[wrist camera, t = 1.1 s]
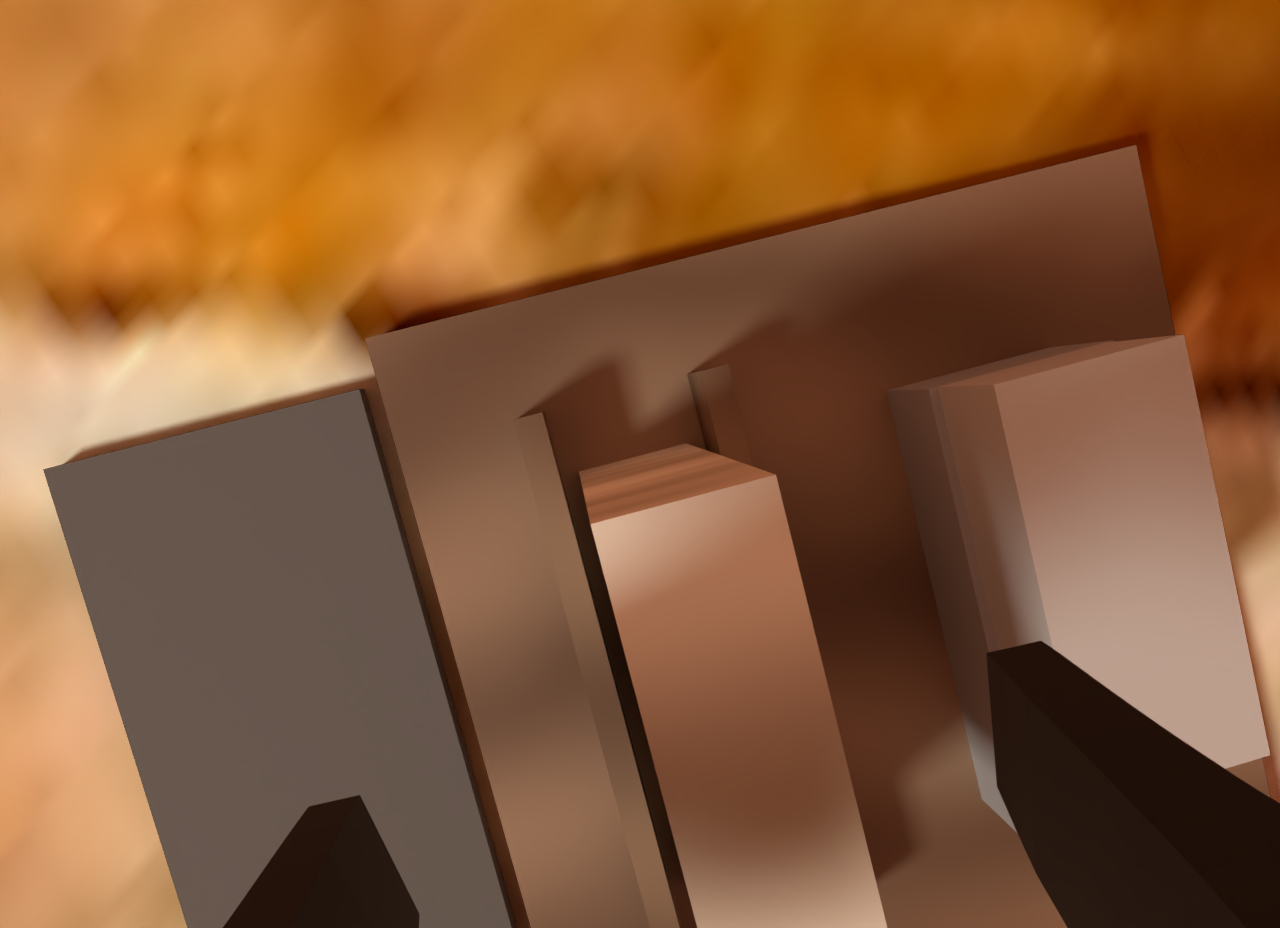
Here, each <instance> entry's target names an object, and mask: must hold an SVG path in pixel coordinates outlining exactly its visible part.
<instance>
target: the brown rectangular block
mask: <svg viewBox="0 0 1280 928" xmlns="http://www.w3.org/2000/svg"><path fill="white" fill-rule="evenodd" d="M579 475H580V479H581V484H582V488H583V493H584V497H585V502H586V506H587V511H588V515H589V520H590V524H591V528H592V532H593V536H594V540H595V543H596V547H597V551H598V555H599V558H600V562H601V566H602V570H603V573H604V577H605V581H606V585H607V589H608V592H609V596H610V600H611V604H612V607H613V611H614V615H615V619H616V623H617V626H618V630H619V634H620V638H621V641H622V645H623V649H624V653H625V657H626V660H627V664H628V668H629V672H630V675H631V679H632V683H633V687H634V691H635V694H636V698H637V702H638V706H639V709H640V713H641V717H642V721H643V725H644V728H645V732H646V736H647V740H648V743H649V747H650V751H651V755H652V758H653V762H654V766H655V770H656V774H657V777H658V781H659V785H660V789H661V792H662V796H663V800H664V804H665V808H666V811H667V815H668V819H669V823H670V826H671V830H672V834H673V838H674V842H675V845H676V849H677V853H678V857H679V860H680V864H681V868H682V872H683V876H684V879H685V883H686V887H687V891H688V894H689V898H690V902H691V906H692V910H693V913H694V917H695V921H696V925H697V928H887V924H886V920H885V916H884V912H883V908H882V904H881V900H880V896H879V892H878V888H877V883H876V879H875V875H874V871H873V867H872V863H871V859H870V855H869V851H868V847H867V843H866V839H865V835H864V831H863V827H862V823H861V818H860V814H859V810H858V806H857V802H856V798H855V794H854V790H853V786H852V782H851V778H850V774H849V770H848V766H847V762H846V758H845V753H844V749H843V745H842V741H841V737H840V733H839V729H838V725H837V721H836V717H835V713H834V709H833V705H832V701H831V697H830V693H829V688H828V684H827V680H826V676H825V672H824V668H823V664H822V660H821V656H820V652H819V648H818V644H817V640H816V636H815V632H814V628H813V623H812V619H811V615H810V611H809V607H808V603H807V599H806V595H805V591H804V587H803V583H802V579H801V575H800V571H799V567H798V563H797V558H796V554H795V550H794V546H793V542H792V538H791V534H790V530H789V526H788V522H787V518H786V514H785V510H784V506H783V502H782V498H781V493H780V489H779V485H778V481H777V477H776V475H775V474H773V473H770V472H767V471H764V470H761V469H758V468H755V467H753V466H750V465H747V464H744V463H741V462H738V461H735V460H733V459H730V458H727V457H724V456H721V455H718V454H715V453H713V452H710V451H707V450H704V449H701V448H698V447H695V446H693V445H690V444H687V443H685V444H682V445H678V446H674V447H670V448H667V449H663V450H659V451H655V452H651V453H648V454H644V455H640V456H636V457H632V458H629V459H625V460H621V461H617V462H613V463H610V464H606V465H602V466H598V467H595V468H591V469H587V470H583V471H579Z"/></svg>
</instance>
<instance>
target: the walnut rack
mask: <svg viewBox="0 0 1280 928" xmlns="http://www.w3.org/2000/svg"><path fill="white" fill-rule="evenodd" d="M1173 335H1175V331H1174V326H1173V321H1172V316H1171V312H1170V307H1169V302H1168V297H1167V292H1166V287H1165V282H1164V278H1163V273H1162V268H1161V263H1160V258H1159V253H1158V248H1157V244H1156V239H1155V234H1154V229H1153V224H1152V219H1151V214H1150V210H1149V205H1148V200H1147V195H1146V190H1145V185H1144V180H1143V176H1142V171H1141V166H1140V161H1139V156H1138V151H1137V146H1136V145H1134V146H1130V147H1126V148H1122V149H1118V150H1114V151H1110V152H1106V153H1102V154H1098V155H1094V156H1090V157H1086V158H1082V159H1078V160H1074V161H1070V162H1066V163H1062V164H1058V165H1054V166H1050V167H1046V168H1042V169H1038V170H1034V171H1030V172H1026V173H1022V174H1018V175H1014V176H1010V177H1006V178H1002V179H998V180H994V181H990V182H986V183H982V184H978V185H974V186H970V187H966V188H962V189H958V190H954V191H950V192H946V193H943V194H939V195H935V196H931V197H927V198H923V199H919V200H915V201H911V202H907V203H903V204H899V205H895V206H891V207H887V208H883V209H879V210H875V211H871V212H867V213H863V214H859V215H855V216H851V217H847V218H843V219H839V220H835V221H831V222H827V223H823V224H819V225H815V226H811V227H807V228H803V229H799V230H795V231H791V232H787V233H783V234H779V235H775V236H771V237H767V238H763V239H759V240H755V241H751V242H747V243H743V244H740V245H736V246H732V247H728V248H724V249H720V250H716V251H712V252H708V253H704V254H700V255H696V256H692V257H688V258H684V259H680V260H676V261H672V262H668V263H664V264H660V265H656V266H652V267H648V268H644V269H640V270H636V271H632V272H628V273H624V274H620V275H616V276H612V277H608V278H604V279H600V280H596V281H592V282H588V283H584V284H580V285H576V286H572V287H568V288H564V289H560V290H556V291H552V292H548V293H544V294H540V295H537V296H533V297H529V298H525V299H521V300H517V301H513V302H509V303H505V304H501V305H497V306H493V307H489V308H485V309H481V310H477V311H473V312H469V313H465V314H461V315H457V316H453V317H449V318H445V319H441V320H437V321H433V322H429V323H425V324H421V325H417V326H413V327H409V328H405V329H401V330H397V331H393V332H389V333H385V334H381V335H377V336H373V337H369V338H365V340H366V344H367V347H368V351H369V354H370V358H371V361H372V365H373V368H374V372H375V376H376V379H377V383H378V386H379V390H380V393H381V397H382V400H383V404H384V408H385V411H386V415H387V418H388V422H389V425H390V429H391V432H392V436H393V440H394V443H395V447H396V450H397V454H398V457H399V461H400V464H401V468H402V472H403V475H404V479H405V482H406V486H407V489H408V493H409V496H410V500H411V504H412V507H413V511H414V514H415V518H416V521H417V525H418V528H419V532H420V536H421V539H422V543H423V546H424V550H425V553H426V557H427V560H428V564H429V568H430V571H431V575H432V578H433V582H434V585H435V589H436V592H437V596H438V600H439V603H440V607H441V610H442V614H443V617H444V621H445V624H446V628H447V632H448V635H449V639H450V642H451V646H452V649H453V653H454V656H455V660H456V664H457V667H458V671H459V674H460V678H461V681H462V685H463V688H464V692H465V696H466V699H467V703H468V706H469V710H470V713H471V717H472V720H473V724H474V728H475V731H476V735H477V738H478V742H479V745H480V749H481V752H482V756H483V760H484V763H485V767H486V770H487V774H488V777H489V781H490V784H491V788H492V792H493V795H494V799H495V802H496V806H497V809H498V813H499V816H500V820H501V824H502V827H503V831H504V834H505V838H506V841H507V845H508V848H509V852H510V856H511V859H512V863H513V866H514V870H515V873H516V877H517V880H518V884H519V888H520V891H521V895H522V898H523V902H524V905H525V909H526V912H527V916H528V920H529V923H530V927H531V928H697V925H696V921H695V917H694V913H693V910H692V906H691V902H690V898H689V894H688V891H687V887H686V883H685V879H684V876H683V872H682V868H681V864H680V860H679V857H678V853H677V849H676V845H675V842H674V838H673V834H672V830H671V826H670V823H669V819H668V815H667V811H666V808H665V804H664V800H663V796H662V792H661V789H660V785H659V781H658V777H657V774H656V770H655V766H654V762H653V758H652V755H651V751H650V747H649V743H648V740H647V736H646V732H645V728H644V725H643V721H642V717H641V713H640V709H639V706H638V702H637V698H636V694H635V691H634V687H633V683H632V679H631V675H630V672H629V668H628V664H627V660H626V657H625V653H624V649H623V645H622V641H621V638H620V634H619V630H618V626H617V623H616V619H615V615H614V611H613V607H612V604H611V600H610V596H609V592H608V589H607V585H606V581H605V577H604V573H603V570H602V566H601V562H600V558H599V555H598V551H597V547H596V543H595V540H594V536H593V532H592V528H591V524H590V520H589V515H588V511H587V506H586V502H585V497H584V493H583V488H582V484H581V479H580V475H579V471H583V470H587V469H591V468H595V467H598V466H602V465H606V464H610V463H613V462H617V461H621V460H625V459H629V458H632V457H636V456H640V455H644V454H648V453H651V452H655V451H659V450H663V449H667V448H670V447H674V446H678V445H682V444H685V443H687V444H690V445H693V446H695V447H698V448H701V449H704V450H707V451H710V452H713V453H715V454H718V455H721V456H724V457H727V458H730V459H733V460H735V461H738V462H741V463H744V464H747V465H750V466H753V467H755V468H758V469H761V470H764V471H767V472H770V473H773V474H775V475H776V477H777V481H778V485H779V489H780V493H781V498H782V502H783V506H784V510H785V514H786V518H787V522H788V526H789V530H790V534H791V538H792V542H793V546H794V550H795V554H796V558H797V563H798V567H799V571H800V575H801V579H802V583H803V587H804V591H805V595H806V599H807V603H808V607H809V611H810V615H811V619H812V623H813V628H814V632H815V636H816V640H817V644H818V648H819V652H820V656H821V660H822V664H823V668H824V672H825V676H826V680H827V684H828V688H829V693H830V697H831V701H832V705H833V709H834V713H835V717H836V721H837V725H838V729H839V733H840V737H841V741H842V745H843V749H844V753H845V758H846V762H847V766H848V770H849V774H850V778H851V782H852V786H853V790H854V794H855V798H856V802H857V806H858V810H859V814H860V818H861V823H862V827H863V831H864V835H865V839H866V843H867V847H868V851H869V855H870V859H871V863H872V867H873V871H874V875H875V879H876V883H877V888H878V892H879V896H880V900H881V904H882V908H883V912H884V916H885V920H886V924H887V928H1067V926H1066V924H1065V923H1064V921H1063V919H1062V917H1061V916H1060V914H1059V912H1058V911H1057V909H1056V907H1055V906H1054V904H1053V902H1052V900H1051V899H1050V897H1049V895H1048V894H1047V892H1046V890H1045V888H1044V887H1043V885H1042V883H1041V881H1040V880H1039V878H1038V876H1037V874H1036V872H1035V870H1034V868H1033V866H1032V864H1031V862H1030V859H1029V857H1028V855H1027V853H1026V851H1025V849H1024V846H1023V844H1022V842H1021V840H1020V838H1019V836H1018V833H1017V832H1016V831H1015V830H1014V829H1012V828H1011V827H1010V826H1009V825H1008V824H1007V823H1006V822H1005V821H1004V820H1003V819H1002V818H1001V817H1000V816H999V815H998V814H997V813H996V812H995V811H994V810H993V809H992V808H990V807H989V806H988V805H987V804H986V803H985V802H984V801H983V800H982V798H981V793H980V789H979V785H978V781H977V776H976V772H975V768H974V763H973V759H972V755H971V751H970V746H969V742H968V738H967V734H966V729H965V725H964V721H963V716H962V712H961V708H960V704H959V699H958V695H957V691H956V687H955V682H954V678H953V674H952V669H951V665H950V661H949V657H948V652H947V648H946V644H945V640H944V635H943V631H942V627H941V622H940V618H939V614H938V610H937V605H936V601H935V597H934V592H933V588H932V584H931V580H930V575H929V571H928V567H927V563H926V558H925V554H924V550H923V545H922V541H921V537H920V533H919V528H918V524H917V520H916V516H915V511H914V507H913V503H912V498H911V494H910V490H909V486H908V481H907V477H906V473H905V468H904V464H903V460H902V456H901V451H900V447H899V443H898V439H897V434H896V430H895V426H894V421H893V417H892V413H891V409H890V404H889V400H888V396H887V392H886V390H890V389H894V388H898V387H902V386H905V385H909V384H913V383H917V382H921V381H924V380H928V379H932V378H936V377H939V376H943V375H947V374H951V373H955V372H958V371H962V370H966V369H970V368H974V367H977V366H981V365H985V364H989V363H993V362H996V361H1000V360H1004V359H1008V358H1012V357H1015V356H1019V355H1023V354H1027V353H1030V352H1034V351H1038V350H1042V349H1046V348H1049V347H1057V346H1066V345H1076V344H1085V343H1094V342H1103V341H1112V340H1113V342H1117V341H1126V340H1135V339H1145V338H1154V337H1164V336H1173ZM1226 770H1228V771H1229V772H1231V773H1232V774H1234V775H1235V776H1237V777H1238V778H1240V779H1242V780H1243V781H1245V782H1246V783H1248V784H1250V785H1251V786H1253V787H1254V788H1256V789H1257V790H1259V791H1261V792H1262V793H1264V794H1265V795H1267V796H1269V797H1270V793H1269V788H1268V783H1267V778H1266V773H1265V768H1264V764H1263V759H1262V758H1260V759H1256V760H1253V761H1249V762H1246V763H1243V764H1239V765H1236V766H1233V767H1229V768H1226Z"/></svg>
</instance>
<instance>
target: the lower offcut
mask: <svg viewBox="0 0 1280 928" xmlns="http://www.w3.org/2000/svg"><path fill="white" fill-rule="evenodd" d="M1107 342H1113V340H1112V341H1103V342H1094V343H1085V344H1076V345H1066V346H1057V347H1049V348H1046V349H1042V350H1038V351H1034V352H1030V353H1027V354H1023V355H1019V356H1015V357H1012V358H1008V359H1004V360H1000V361H996V362H993V363H989V364H985V365H981V366H977V367H974V368H970V369H966V370H962V371H958V372H955V373H951V374H947V375H943V376H939V377H936V378H932V379H928V380H924V381H921V382H917V383H913V384H909V385H905V386H902V387H898V388H894V389H890V390H886V392H887V396H888V400H889V404H890V409H891V413H892V417H893V421H894V426H895V430H896V434H897V439H898V443H899V447H900V451H901V456H902V460H903V464H904V468H905V473H906V477H907V481H908V486H909V490H910V494H911V498H912V503H913V507H914V511H915V516H916V520H917V524H918V528H919V533H920V537H921V541H922V545H923V550H924V554H925V558H926V563H927V567H928V571H929V575H930V580H931V584H932V588H933V592H934V597H935V601H936V605H937V610H938V614H939V618H940V622H941V627H942V631H943V635H944V640H945V644H946V648H947V652H948V657H949V661H950V665H951V669H952V674H953V678H954V682H955V687H956V691H957V695H958V699H959V704H960V708H961V712H962V716H963V721H964V725H965V729H966V734H967V738H968V742H969V746H970V751H971V755H972V759H973V763H974V768H975V772H976V776H977V781H978V785H979V789H980V793H981V798H982V800H983V801H984V802H985V803H986V804H987V805H988V806H989V807H990V808H992V809H993V810H994V811H995V812H996V813H997V814H998V815H999V816H1000V817H1001V818H1002V819H1003V820H1004V821H1005V822H1006V823H1007V824H1008V825H1009V826H1010V827H1011V828H1012V829H1014V830H1015V831H1016V829H1015V826H1014V824H1013V822H1012V820H1011V817H1010V815H1009V813H1008V811H1007V808H1006V806H1005V804H1004V801H1003V799H1002V797H1001V795H1000V792H999V790H998V788H997V781H996V768H995V756H994V743H993V731H992V718H991V706H990V693H989V681H988V669H987V656H986V653H989V652H993V651H997V650H998V648H997V643H996V639H995V635H994V630H993V626H992V622H991V617H990V613H989V608H988V604H987V600H986V595H985V591H984V587H983V582H982V578H981V573H980V569H979V565H978V560H977V556H976V552H975V547H974V543H973V539H972V534H971V530H970V525H969V521H968V517H967V512H966V508H965V504H964V499H963V495H962V491H961V486H960V482H959V477H958V473H957V469H956V464H955V460H954V456H953V451H952V447H951V442H950V438H949V434H948V429H947V425H946V421H945V416H944V412H943V408H942V403H941V399H940V394H939V390H938V387H939V386H943V385H947V384H950V383H954V382H958V381H962V380H965V379H969V378H973V377H977V376H981V375H984V374H988V373H992V372H996V371H999V370H1003V369H1007V368H1011V367H1015V366H1018V365H1022V364H1026V363H1030V362H1033V361H1037V360H1041V359H1045V358H1049V357H1052V356H1056V355H1060V354H1064V353H1068V352H1071V351H1075V350H1079V349H1083V348H1086V347H1090V346H1094V345H1098V344H1102V343H1107ZM1016 832H1017V831H1016Z"/></svg>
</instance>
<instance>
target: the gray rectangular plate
mask: <svg viewBox="0 0 1280 928" xmlns="http://www.w3.org/2000/svg"><path fill="white" fill-rule="evenodd" d="M43 470H44V473H45V476H46V480H47V483H48V486H49V489H50V492H51V496H52V499H53V502H54V505H55V508H56V511H57V515H58V518H59V521H60V524H61V527H62V530H63V534H64V537H65V540H66V543H67V546H68V549H69V553H70V556H71V559H72V562H73V565H74V569H75V572H76V575H77V578H78V581H79V584H80V588H81V591H82V594H83V597H84V600H85V603H86V607H87V610H88V613H89V616H90V619H91V622H92V626H93V629H94V632H95V635H96V638H97V642H98V645H99V648H100V651H101V654H102V657H103V661H104V664H105V667H106V670H107V673H108V676H109V680H110V683H111V686H112V689H113V692H114V695H115V699H116V702H117V705H118V708H119V711H120V715H121V718H122V721H123V724H124V727H125V730H126V734H127V737H128V740H129V743H130V746H131V749H132V753H133V756H134V759H135V762H136V765H137V768H138V772H139V775H140V778H141V781H142V784H143V788H144V791H145V794H146V797H147V800H148V803H149V807H150V810H151V813H152V816H153V819H154V822H155V826H156V829H157V832H158V835H159V838H160V842H161V845H162V848H163V851H164V854H165V857H166V861H167V864H168V867H169V870H170V873H171V876H172V880H173V883H174V886H175V889H176V892H177V895H178V899H179V902H180V905H181V908H182V911H183V915H184V918H185V921H186V924H187V927H188V928H223V927H224V925H225V924H226V922H227V921H228V920H229V918H230V917H231V915H232V914H233V913H234V911H235V910H236V908H237V907H238V906H239V904H240V903H241V901H242V900H243V898H244V897H245V896H246V894H247V893H248V891H249V890H250V888H251V887H252V886H253V884H254V883H255V881H256V880H257V878H258V877H259V875H260V874H261V873H262V871H263V870H264V868H265V867H266V865H267V864H268V863H269V861H270V860H271V858H272V857H273V855H274V854H275V853H276V851H277V850H278V848H279V847H280V845H281V844H282V843H283V841H284V840H285V838H286V837H287V835H288V834H289V833H290V831H291V830H292V828H293V827H294V826H295V824H296V823H297V822H298V820H299V819H300V818H301V816H302V815H303V814H304V812H305V811H306V809H307V808H308V807H309V806H313V805H317V804H322V803H326V802H330V801H335V800H339V799H344V798H348V797H353V796H357V795H360V796H361V798H362V800H363V802H364V804H365V806H366V808H367V810H368V812H369V814H370V816H371V818H372V820H373V822H374V824H375V826H376V828H377V830H378V832H379V834H380V836H381V838H382V840H383V842H384V844H385V846H386V848H387V850H388V852H389V854H390V856H391V858H392V860H393V862H394V864H395V866H396V868H397V870H398V872H399V874H400V876H401V878H402V880H403V882H404V884H405V886H406V888H407V890H408V892H409V894H410V896H411V898H412V900H413V902H414V904H415V906H416V908H417V910H418V912H419V928H517V926H516V923H515V919H514V916H513V912H512V909H511V905H510V902H509V898H508V895H507V891H506V888H505V884H504V880H503V877H502V873H501V870H500V866H499V863H498V859H497V856H496V852H495V849H494V845H493V842H492V838H491V834H490V831H489V827H488V824H487V820H486V817H485V813H484V810H483V806H482V803H481V799H480V796H479V792H478V788H477V785H476V781H475V778H474V774H473V771H472V767H471V764H470V760H469V757H468V753H467V750H466V746H465V742H464V739H463V735H462V732H461V728H460V725H459V721H458V718H457V714H456V711H455V707H454V704H453V700H452V696H451V693H450V689H449V686H448V682H447V679H446V675H445V672H444V668H443V665H442V661H441V658H440V654H439V650H438V647H437V643H436V640H435V636H434V633H433V629H432V626H431V622H430V619H429V615H428V612H427V608H426V604H425V601H424V597H423V594H422V590H421V587H420V583H419V580H418V576H417V573H416V569H415V566H414V562H413V558H412V555H411V551H410V548H409V544H408V541H407V537H406V534H405V530H404V527H403V523H402V520H401V516H400V512H399V509H398V505H397V502H396V498H395V495H394V491H393V488H392V484H391V481H390V477H389V474H388V470H387V466H386V463H385V459H384V456H383V452H382V449H381V445H380V442H379V438H378V435H377V431H376V428H375V424H374V420H373V417H372V413H371V410H370V406H369V403H368V399H367V396H366V392H365V389H358V390H354V391H350V392H346V393H342V394H338V395H334V396H330V397H326V398H322V399H318V400H314V401H311V402H307V403H303V404H299V405H295V406H291V407H287V408H283V409H279V410H275V411H271V412H267V413H263V414H259V415H256V416H252V417H248V418H244V419H240V420H236V421H232V422H228V423H224V424H220V425H216V426H212V427H208V428H204V429H200V430H197V431H193V432H189V433H185V434H181V435H177V436H173V437H169V438H165V439H161V440H157V441H153V442H149V443H145V444H142V445H138V446H134V447H130V448H126V449H122V450H118V451H114V452H110V453H106V454H102V455H98V456H94V457H90V458H87V459H83V460H79V461H75V462H71V463H67V464H63V465H59V466H55V467H51V468H47V469H43Z"/></svg>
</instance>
